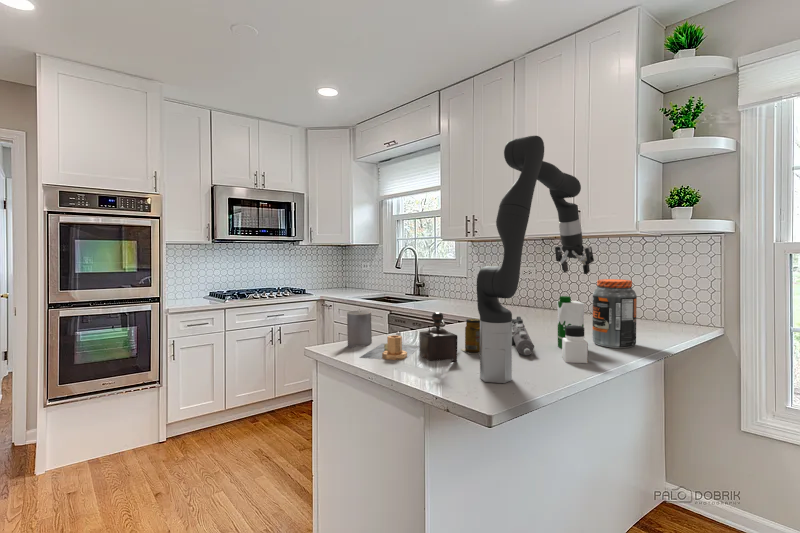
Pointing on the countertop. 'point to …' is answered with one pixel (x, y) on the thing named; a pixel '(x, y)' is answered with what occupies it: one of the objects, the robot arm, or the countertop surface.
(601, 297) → the supplement tub
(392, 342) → the faceted vase
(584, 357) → the medicine bottle
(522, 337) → the hydraulic cylinder
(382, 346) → the carrier
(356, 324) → the pillar candle
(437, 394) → the countertop surface
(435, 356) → the coffee grinder
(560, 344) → the milk carton
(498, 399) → the countertop surface
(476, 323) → the condiment
